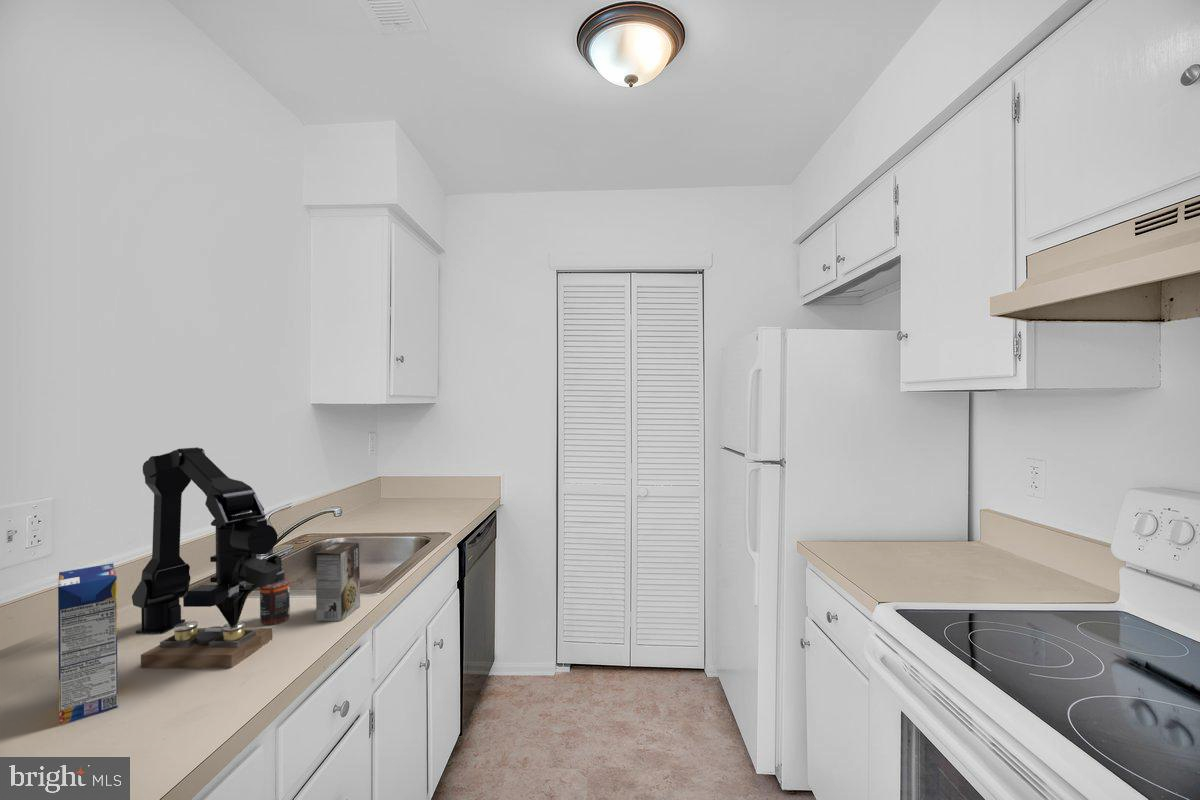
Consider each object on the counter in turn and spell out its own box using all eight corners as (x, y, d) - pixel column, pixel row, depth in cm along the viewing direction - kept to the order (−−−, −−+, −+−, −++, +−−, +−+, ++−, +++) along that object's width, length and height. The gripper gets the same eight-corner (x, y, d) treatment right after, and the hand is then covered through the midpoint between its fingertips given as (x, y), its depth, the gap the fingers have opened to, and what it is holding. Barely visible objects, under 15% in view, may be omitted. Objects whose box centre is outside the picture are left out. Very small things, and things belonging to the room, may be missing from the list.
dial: (190, 644, 105) (190, 633, 105) (207, 634, 109) (207, 624, 109) (213, 644, 105) (213, 633, 105) (229, 634, 109) (229, 624, 109)
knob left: (169, 656, 105) (169, 628, 105) (184, 647, 109) (184, 621, 109) (187, 656, 105) (187, 628, 105) (202, 647, 109) (202, 621, 109)
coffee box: (335, 606, 131) (335, 541, 131) (361, 606, 131) (360, 541, 131) (314, 621, 122) (314, 552, 122) (341, 621, 122) (341, 552, 122)
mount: (140, 667, 101) (140, 649, 101) (190, 639, 113) (190, 623, 113) (231, 667, 101) (231, 649, 101) (272, 639, 113) (272, 623, 113)
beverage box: (59, 726, 83) (58, 587, 83) (59, 699, 91) (59, 572, 91) (117, 707, 88) (116, 576, 88) (113, 683, 95) (112, 563, 96)
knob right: (217, 656, 105) (217, 628, 105) (231, 647, 109) (231, 620, 109) (236, 656, 105) (236, 628, 105) (249, 647, 109) (249, 620, 109)
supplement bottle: (295, 615, 126) (295, 568, 126) (278, 626, 120) (277, 576, 120) (272, 615, 126) (272, 568, 126) (253, 625, 120) (253, 576, 120)
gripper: (238, 562, 97) (239, 646, 97) (299, 536, 116) (299, 607, 116) (180, 562, 98) (181, 646, 98) (249, 536, 116) (250, 607, 116)
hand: (233, 624), depth 107 cm, fingers closed, pressing on knob right
